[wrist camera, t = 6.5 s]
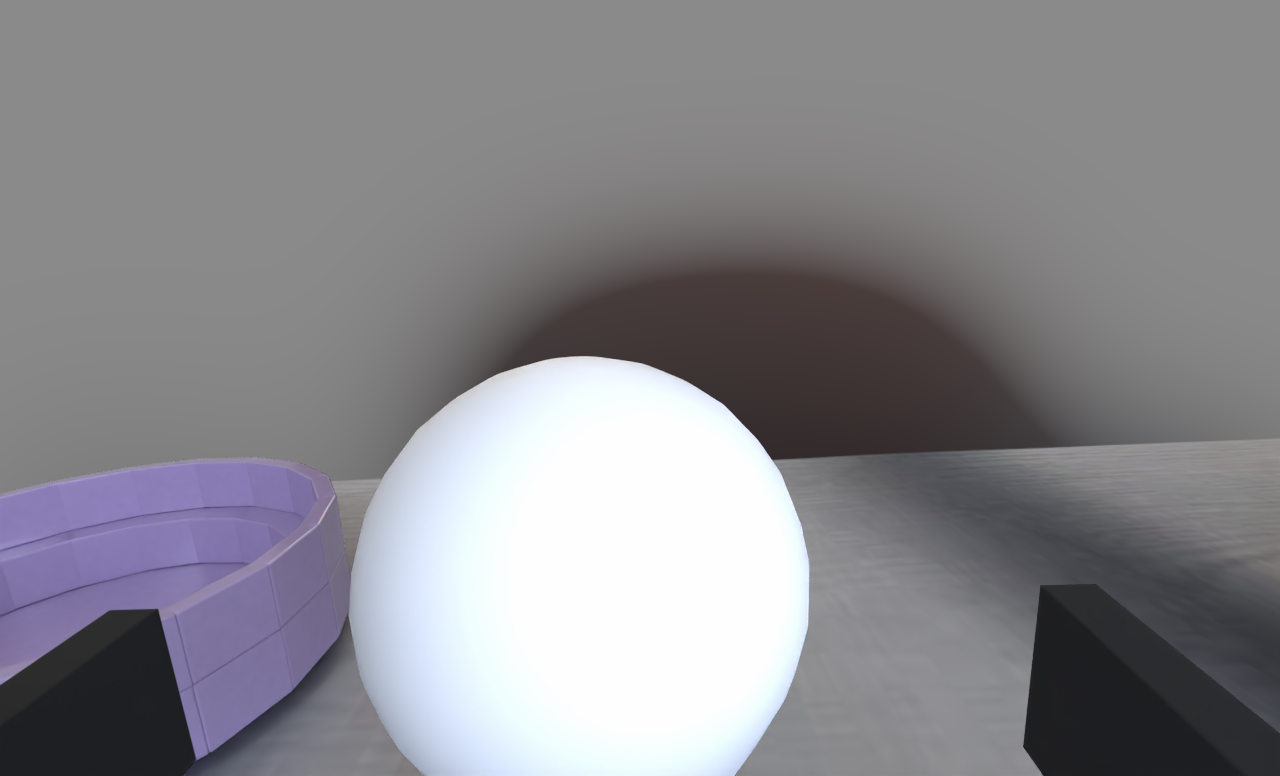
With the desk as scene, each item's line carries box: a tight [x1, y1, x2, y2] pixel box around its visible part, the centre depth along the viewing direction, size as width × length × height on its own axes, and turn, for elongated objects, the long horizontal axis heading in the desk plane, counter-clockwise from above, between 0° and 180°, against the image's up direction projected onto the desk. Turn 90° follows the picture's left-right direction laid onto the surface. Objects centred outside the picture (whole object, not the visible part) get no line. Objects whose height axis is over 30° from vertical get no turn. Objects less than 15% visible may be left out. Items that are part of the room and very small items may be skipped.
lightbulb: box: [349, 356, 809, 776], centre depth 10 cm, size 6×6×11 cm
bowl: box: [0, 457, 351, 761], centre depth 19 cm, size 15×15×4 cm
